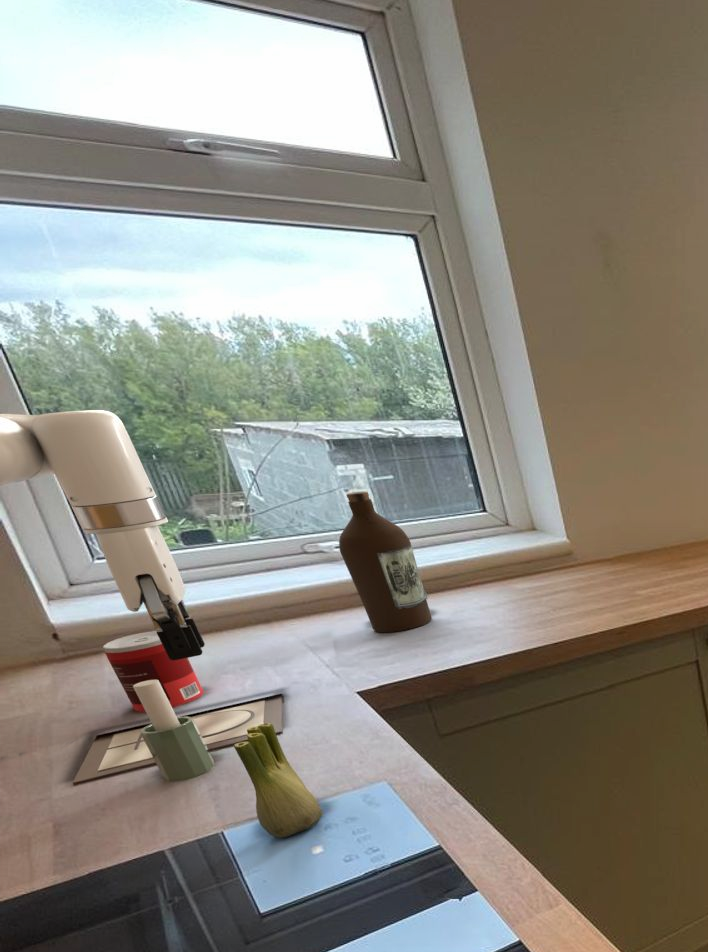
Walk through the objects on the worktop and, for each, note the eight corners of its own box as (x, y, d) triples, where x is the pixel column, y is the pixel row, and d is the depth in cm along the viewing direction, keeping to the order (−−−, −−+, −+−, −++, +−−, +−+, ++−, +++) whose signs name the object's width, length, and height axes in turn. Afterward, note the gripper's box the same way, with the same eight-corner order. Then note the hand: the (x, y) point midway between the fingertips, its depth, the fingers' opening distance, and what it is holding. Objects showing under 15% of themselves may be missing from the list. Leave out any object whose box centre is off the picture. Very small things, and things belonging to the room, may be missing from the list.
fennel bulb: (289, 846, 85) (241, 744, 80) (250, 843, 86) (201, 742, 81) (339, 815, 90) (297, 718, 85) (302, 813, 91) (259, 717, 86)
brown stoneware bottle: (355, 633, 151) (304, 498, 141) (403, 615, 161) (358, 487, 151) (403, 634, 149) (354, 498, 139) (449, 616, 159) (406, 487, 149)
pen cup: (165, 788, 98) (138, 736, 95) (168, 774, 101) (142, 724, 98) (215, 775, 100) (190, 724, 98) (217, 762, 104) (193, 713, 101)
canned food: (206, 692, 126) (174, 626, 122) (208, 706, 121) (175, 637, 117) (138, 708, 122) (102, 640, 117) (137, 723, 116) (100, 652, 112)
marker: (177, 777, 99) (131, 688, 94) (179, 771, 101) (133, 683, 96) (201, 771, 100) (157, 682, 96) (202, 765, 102) (159, 677, 97)
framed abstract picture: (75, 788, 99) (70, 781, 98) (99, 740, 112) (95, 733, 111) (284, 736, 110) (281, 729, 110) (283, 697, 123) (281, 691, 123)
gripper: (90, 512, 104) (157, 645, 112) (66, 530, 92) (142, 678, 100) (169, 503, 109) (228, 631, 116) (155, 519, 97) (222, 661, 104)
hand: (187, 651), depth 108 cm, fingers open, 3 cm apart
